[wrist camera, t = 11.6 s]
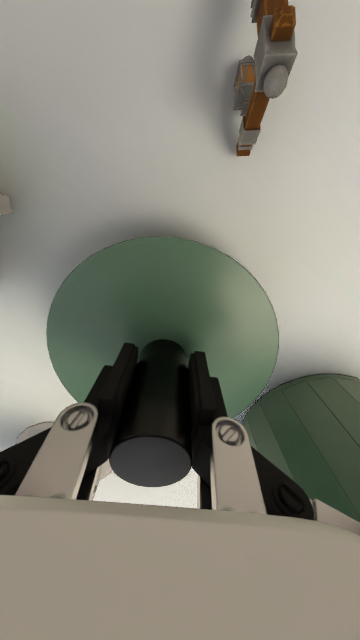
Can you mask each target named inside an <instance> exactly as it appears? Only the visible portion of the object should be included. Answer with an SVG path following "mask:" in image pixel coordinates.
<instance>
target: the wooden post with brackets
mask: <svg viewBox="0 0 360 640" xmlns="http://www.w3.org/2000/svg"><path fill="white" fill-rule="evenodd" d="M251 8H252V12H251V17H252V23H257V33H258V41H257V45H256V49H255V53H254V57H253V58H254V59H253V58H252V56H246V57H245V58H244V59H243V60H241V61H239V65H238V70H237V75H236V79H235V84H234V87H236V90H237V95H236V99H235V104H234V108H233V110H242V111H241V114H240V116H243V118H242V122H241V125H240V129H239V137H238V143H237V145H236V150H237V156H249V155H250V151H251V150H252V147H253V144H255V143H256V140H257V138H258V135H259V132H260V123H261V121H262V118H263V115H264V112H265V110H266V107H267V104H268V102H269V99H270V98H272V99H273V98H276V97H278V96H279V95H280V94H281V93H282V92H283V90H284V89H285V87H286V85H287V80H288V76H289V74H290V71H291V69H292V66H293V63H294V61H295V58H296V56H297V51H296V48H295V34H294V28H295V25H296V18H295V14H296V13H295V7H294V6H292V5H291V6H288V0H252V2H251Z"/></svg>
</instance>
